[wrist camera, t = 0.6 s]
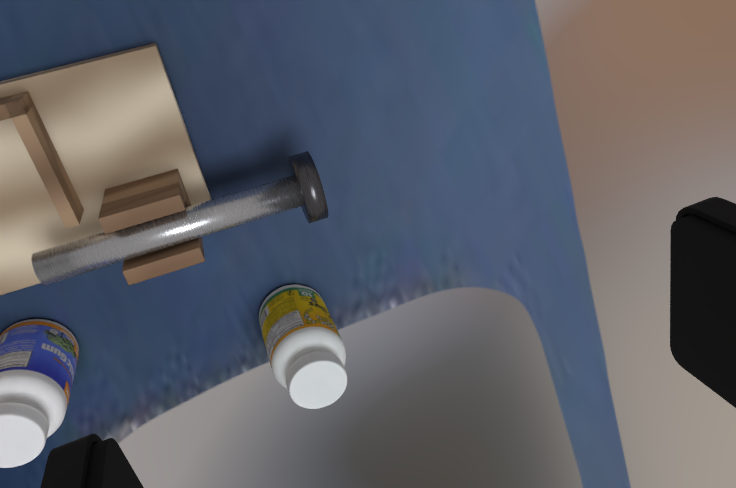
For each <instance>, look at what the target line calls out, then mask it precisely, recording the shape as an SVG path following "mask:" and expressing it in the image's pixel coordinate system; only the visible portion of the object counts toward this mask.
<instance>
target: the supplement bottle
mask: <svg viewBox="0 0 736 488" xmlns="http://www.w3.org/2000/svg"><path fill="white" fill-rule="evenodd" d="M259 323H260V328H261V331H262V335H263V339H264V342H265V346H266V349H267V353H268V357H269V361H270V364H271V368H272V371H273V374H274V376H275V378H276V379H277V381H278V382H279V383H280V384H281V385H282V386H284V387H285V388H287V389H288V391H289V393H290V396H291V398H292V399H293V401H294V402H295V403H296V404H297V405H299V406H301V407H304V408H309V409H317V408H322V407H325V406H328V405H330V404H332V403H333V402H335V401H336V400H337V399H338V398H339V397H340V396H341V395H342V393H343V392H344V391H345V388H346V385H347V375H346V371H345V369H344V365H345V360H346V351H345V347H344V344H343V342H342V339H341V337H340V335H339V333H338V331H337V329H336V327H335V325H334V323H333V320H332V319H331V316H330V314H329V312H328V310H327V308H326V306H325V303H324V301H323V299H322V298H321V296H320V295H319V294H318V293H317V292H316V291H315V290H313V289H312V288H309V287H306V286H302V285H294V284H293V285H286V286H283V287H280V288H278V289H276V290H275V291H273V292H272V293H271V294H270V295H268V296H267V298H266V299H265V300H264V302H263V303H262V306H261V308H260V312H259Z"/></svg>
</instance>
